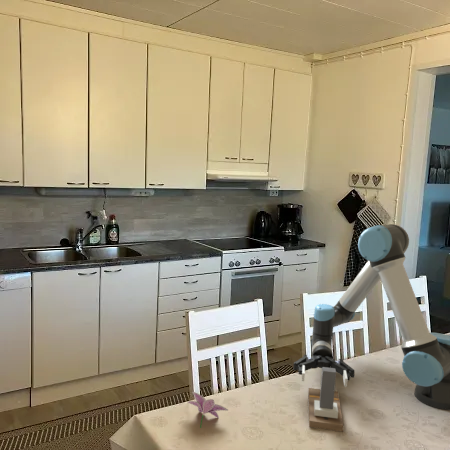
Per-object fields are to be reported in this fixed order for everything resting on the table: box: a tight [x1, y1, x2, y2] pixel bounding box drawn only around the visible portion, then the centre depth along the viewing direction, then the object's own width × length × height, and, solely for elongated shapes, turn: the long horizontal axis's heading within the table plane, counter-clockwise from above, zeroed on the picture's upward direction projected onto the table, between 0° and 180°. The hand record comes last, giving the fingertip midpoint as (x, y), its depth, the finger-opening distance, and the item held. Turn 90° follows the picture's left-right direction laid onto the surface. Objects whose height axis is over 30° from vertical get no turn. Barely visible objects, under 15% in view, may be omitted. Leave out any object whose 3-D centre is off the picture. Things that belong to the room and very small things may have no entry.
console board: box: [307, 387, 344, 432], centre depth 151 cm, size 22×10×2 cm, turn 171°
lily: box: [187, 391, 229, 429], centre depth 141 cm, size 12×12×10 cm
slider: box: [314, 367, 338, 419], centre depth 145 cm, size 6×7×14 cm
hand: (324, 380), depth 150 cm, fingers open, 13 cm apart
